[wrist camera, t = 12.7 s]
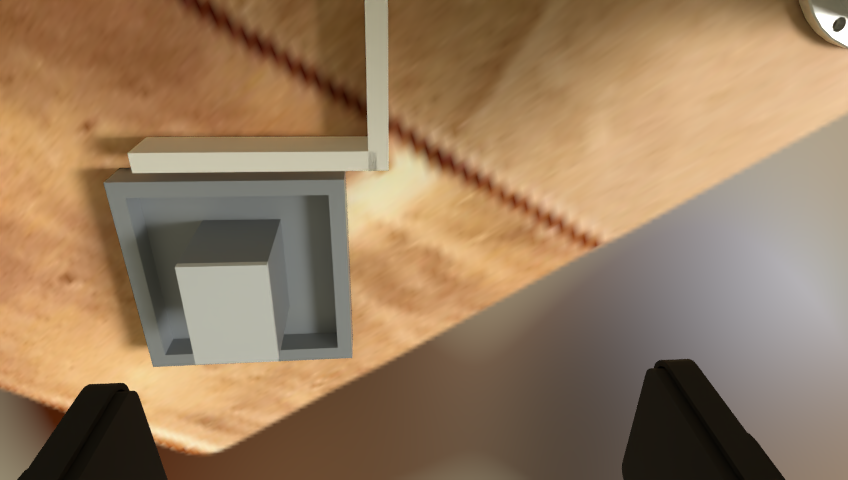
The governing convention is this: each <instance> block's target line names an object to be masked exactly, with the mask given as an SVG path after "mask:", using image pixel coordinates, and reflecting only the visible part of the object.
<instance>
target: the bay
mask: <svg viewBox="0 0 848 480" xmlns="http://www.w3.org/2000/svg"><path fill="white" fill-rule="evenodd" d="M365 40H366V84H367V128H368V136H297V137H146V138H145V139H143V140H142V141H141V142H140V143H139V144H137V145H136V146H135V147H134V148H133V149H132V150H130V151H129V152H128V158H129V162H130V166H131V170H132V173H193V172H291V171H388V170H389V148H388V0H365Z"/></svg>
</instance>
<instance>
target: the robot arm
mask: <svg viewBox="0 0 848 480" xmlns="http://www.w3.org/2000/svg"><path fill="white" fill-rule="evenodd" d="M799 4H800V7H801V9H802V12H803V14H804V17H805V19H806V20H807V22H808V23H809V24H810V26H811V27H812V29H813V30H814V31H815V32H816V33H817V34H818V35H820V36H821V37H822V38H823V39H825V40H826V41H827V42H830V43H832V44H835V45H837V46H840V47H843V48H848V0H799ZM622 474H623V479H624V480H785V478H784V477H783V476H782V474H781V473H780V472H779V470H778V469H777V468H776V467H775V465H774V464H773V463H772V461H771V460H770V459H769V457H768V456H767V454H766V453H765V452H764V450H763V449H762V448H761V446H760V445H759V444H758V442H757V441H756V440H755V439H754V438H753V437H752V436H751V435H750V434H748V433H747V432H746V430H745V429H744V428H743V426H742V425H741V424H740V423H739V421H738V420H737V418H736V417H735V416H734V414H733V413H732V412H731V410H730V409H729V407H728V406H727V405H726V403H725V402H724V401H723V399H722V398H721V397H720V396H719V394H718V393H717V391H716V390H715V389H714V387H713V386H712V385H711V383H710V382H709V380H708V379H707V378H706V376H705V375H704V374H703V373H702V371H701V370H700V368H699V367H698V366H697V364H696V363H695V362H694V361H692V360H690V359H679V360H659V361H658V362H656V364H655V366H654V368H651V369H648V370H647V372H646V375H645V379H644V382H643V386H642V390H641V394H640V398H639V402H638V405H637V410H636V413H635V417H634V421H633V425H632V429H631V432H630V436H629V440H628V444H627V447H626V451H625V455H624V459H623V463H622ZM17 480H167V477H166V474H165V471H164V468H163V465H162V462H161V459H160V456H159V453H158V451H157V448H156V445H155V442H154V439H153V436H152V433H151V430H150V427H149V424H148V422H147V419H146V416H145V413H144V410H143V407H142V404H141V401H140V398H139V396H138V394H137V392H135V391H129V389H128V387H127V385H125V384H124V383H110V384H89V385H87V386H85V387H84V388H83V389H82V391H81V392H80V393H79V395H78V396H77V398H76V399H75V401H74V402H73V404H72V405H71V406H70V408H69V409H68V411H67V412H66V414H65V415H64V417H63V418H62V420H61V421H60V423H59V424H58V425H57V427H56V429H55V430H54V432H53V433H52V434H51V436H50V437H49V439H48V440H47V442H46V443H45V445H44V446H43V447H42V449H41V450H40V452H39V453H38V455H37V456H36V458H35V459H34V461H33V462H32V463H31V465H30V466H29V468H28V469H27V470H25V471H24V472H23V473H22V475H21V476H20V477H19V478H18V479H17Z"/></svg>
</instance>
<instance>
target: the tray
mask: <svg viewBox="0 0 848 480" xmlns="http://www.w3.org/2000/svg"><path fill="white" fill-rule="evenodd" d="M104 187H105V190H106V194H107V198H108V201H109V205H110V209H111V213H112V216H113V220H114V224H115V227H116V231H117V235H118V238H119V242H120V246H121V250H122V253H123V257H124V261H125V264H126V268H127V272H128V275H129V279H130V283H131V287H132V290H133V294H134V298H135V301H136V305H137V309H138V312H139V316H140V320H141V324H142V327H143V331H144V335H145V338H146V342H147V346H148V349H149V353H150V357H151V361H152V364H153V367H161V366H183V365H196V364H195V360H194V355H193V350H192V346H191V341H190V336H189V332H188V327H187V322H186V318H185V313H184V308H183V303H182V299H181V294H180V289H179V285H178V280H177V275H176V271H175V266H176V264H177V263H178V261H179V259H180V258H181V256H182V254H183V253H184V251H185V249H186V248H187V246H188V244H189V243H190V241H191V239H192V237H193V236H194V234H195V232H196V231H197V229H198V227H199V226H200V224H201V222H202V221H203V220H257V219H281V226H282V236H283V246H284V256H285V266H286V276H287V285H288V295H289V305H290V307H289V311H288V316H287V321H286V326H285V331H284V336H283V341H282V346H281V350H280V355H279V360H278V361H293V360H315V359H338V358H352V347H353V332H352V309H351V286H350V263H349V240H348V218H347V195H346V172H345V171H291V172H193V173H132V170H131V168H119V169H118V170H117V171H116V172H115V173H114V174H113V175H111V176H110V177H109V178H108V179H107V180H106V181H105V182H104ZM247 363H249V362H247ZM222 364H227V363H222ZM197 365H205V364H197Z"/></svg>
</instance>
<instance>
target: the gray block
mask: <svg viewBox="0 0 848 480" xmlns="http://www.w3.org/2000/svg"><path fill="white" fill-rule="evenodd" d="M175 271H176V275H177V280H178V285H179V289H180V294H181V299H182V303H183V308H184V313H185V318H186V322H187V327H188V332H189V336H190V341H191V346H192V350H193V355H194V360H195V364H196V365H197V364H222V363H247V362H271V361H278V360H279V355H280V350H281V346H282V341H283V336H284V331H285V326H286V321H287V316H288V311H289V307H290V305H289V295H288V285H287V276H286V266H285V256H284V246H283V236H282V226H281V219H257V220H203V221H202V222H201V224H200V226H199V227H198V229H197V231H196V232H195V234H194V236H193V237H192V239H191V241H190V243H189V244H188V246H187V248H186V249H185V251H184V253H183V254H182V256H181V258H180V259H179V261H178V263H177V264H176V266H175Z"/></svg>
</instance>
